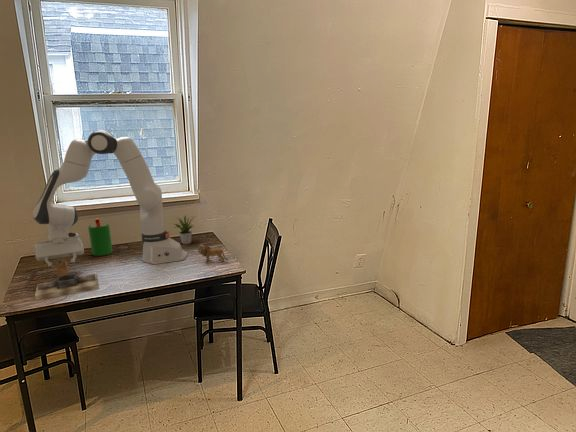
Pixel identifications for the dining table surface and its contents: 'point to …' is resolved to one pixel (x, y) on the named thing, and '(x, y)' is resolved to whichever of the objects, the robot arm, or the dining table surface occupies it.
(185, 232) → the house plant
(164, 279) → the dining table surface
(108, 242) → the motor
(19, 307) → the dining table surface
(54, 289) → the base
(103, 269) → the dining table surface
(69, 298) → the dining table surface
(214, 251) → the lion figurine
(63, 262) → the block
